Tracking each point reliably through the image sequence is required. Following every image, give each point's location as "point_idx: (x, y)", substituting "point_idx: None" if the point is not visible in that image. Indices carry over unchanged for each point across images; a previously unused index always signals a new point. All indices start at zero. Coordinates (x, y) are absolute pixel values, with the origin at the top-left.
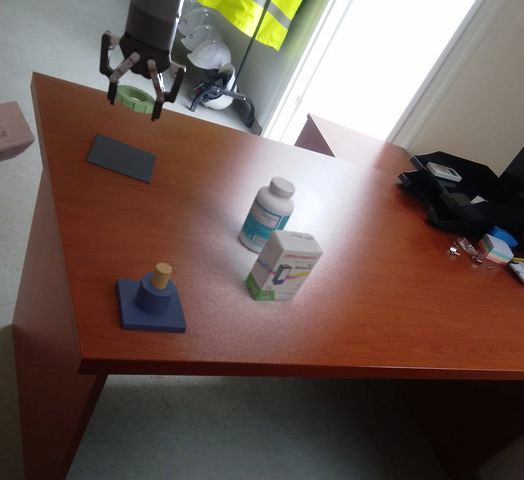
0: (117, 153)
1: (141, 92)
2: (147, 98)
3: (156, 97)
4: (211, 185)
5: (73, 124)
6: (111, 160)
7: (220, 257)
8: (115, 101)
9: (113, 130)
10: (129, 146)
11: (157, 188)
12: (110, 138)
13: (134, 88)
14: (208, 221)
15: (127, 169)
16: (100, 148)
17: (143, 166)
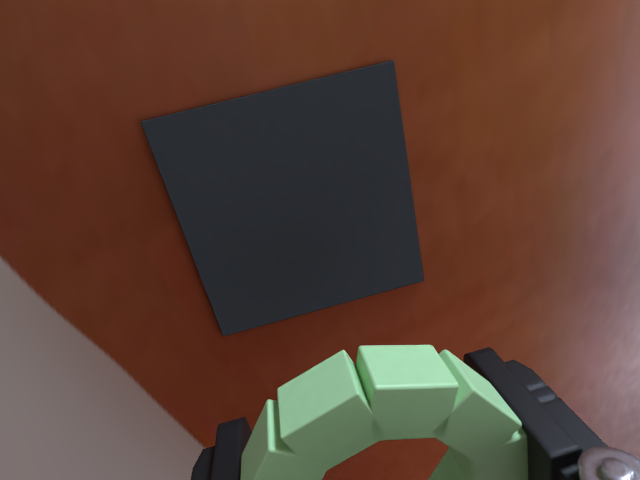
0: (271, 204)
1: (406, 432)
2: (466, 455)
3: (552, 476)
4: (628, 78)
5: (32, 140)
6: (278, 266)
7: (630, 412)
8: (245, 424)
9: (160, 5)
10: (281, 101)
11: (448, 279)
12: (195, 112)
13: (340, 433)
14: (607, 308)
15: (339, 269)
16: (213, 229)
17: (376, 202)
